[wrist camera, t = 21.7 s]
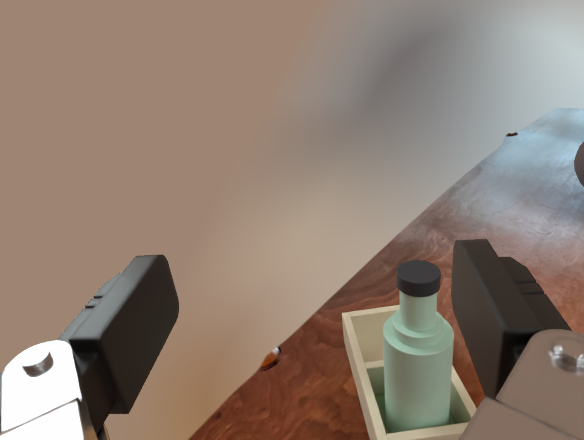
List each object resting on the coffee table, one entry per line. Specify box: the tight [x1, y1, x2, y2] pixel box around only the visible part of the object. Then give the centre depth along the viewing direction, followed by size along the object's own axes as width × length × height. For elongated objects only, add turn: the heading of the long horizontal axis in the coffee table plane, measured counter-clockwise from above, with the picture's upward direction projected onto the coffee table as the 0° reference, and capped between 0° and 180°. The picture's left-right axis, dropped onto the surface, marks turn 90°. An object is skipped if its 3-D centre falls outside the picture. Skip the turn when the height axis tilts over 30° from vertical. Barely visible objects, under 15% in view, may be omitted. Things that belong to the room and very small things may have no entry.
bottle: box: [383, 260, 454, 433], centre depth 34 cm, size 5×5×15 cm
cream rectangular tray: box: [342, 305, 477, 440], centre depth 40 cm, size 8×16×4 cm, turn 4°
